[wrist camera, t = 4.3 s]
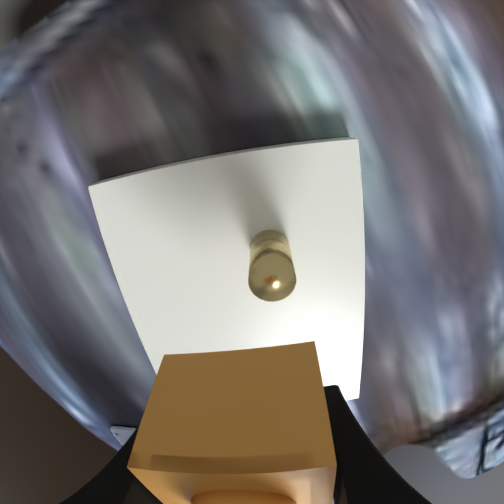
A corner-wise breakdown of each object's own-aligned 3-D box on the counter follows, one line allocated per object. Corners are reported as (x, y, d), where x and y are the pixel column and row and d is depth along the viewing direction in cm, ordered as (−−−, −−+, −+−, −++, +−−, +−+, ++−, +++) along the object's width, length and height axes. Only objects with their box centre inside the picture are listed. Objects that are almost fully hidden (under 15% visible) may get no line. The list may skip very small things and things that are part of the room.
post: (291, 262, 17) (298, 298, 14) (253, 267, 17) (252, 304, 14) (287, 227, 16) (293, 256, 13) (247, 232, 16) (244, 263, 13)
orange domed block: (317, 427, 12) (331, 544, 7) (201, 435, 12) (184, 546, 7) (314, 341, 10) (342, 502, 5) (164, 354, 10) (117, 498, 5)
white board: (354, 384, 23) (358, 398, 21) (180, 401, 24) (176, 414, 23) (349, 136, 16) (357, 138, 14) (100, 180, 17) (88, 186, 15)
